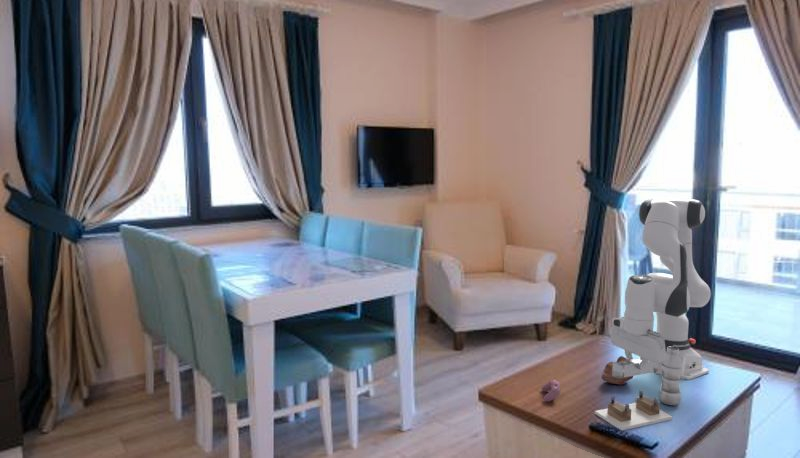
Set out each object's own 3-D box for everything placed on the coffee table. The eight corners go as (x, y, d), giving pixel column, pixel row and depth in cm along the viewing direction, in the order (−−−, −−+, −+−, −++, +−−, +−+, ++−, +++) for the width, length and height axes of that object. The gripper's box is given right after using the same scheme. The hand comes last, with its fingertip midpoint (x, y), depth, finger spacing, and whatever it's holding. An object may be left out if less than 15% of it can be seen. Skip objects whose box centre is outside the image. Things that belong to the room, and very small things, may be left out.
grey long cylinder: (651, 367, 177) (652, 356, 177) (660, 371, 174) (661, 359, 174) (609, 374, 171) (610, 362, 171) (617, 378, 168) (618, 366, 167)
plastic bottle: (679, 409, 179) (683, 352, 177) (657, 404, 183) (661, 349, 180) (681, 402, 185) (685, 347, 182) (659, 397, 188) (663, 343, 186)
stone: (621, 376, 207) (622, 352, 206) (640, 384, 200) (641, 359, 198) (599, 383, 201) (600, 358, 199) (618, 391, 193) (620, 365, 192)
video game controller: (553, 407, 184) (564, 391, 183) (542, 400, 185) (552, 384, 184) (551, 395, 194) (561, 379, 193) (540, 389, 194) (549, 373, 193)
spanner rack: (643, 403, 184) (644, 385, 183) (672, 419, 173) (673, 400, 172) (594, 413, 176) (595, 395, 176) (621, 430, 165) (622, 410, 164)
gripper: (672, 334, 162) (669, 377, 164) (622, 316, 181) (620, 355, 183) (656, 336, 160) (653, 380, 162) (608, 318, 179) (605, 357, 181)
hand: (635, 366), depth 172 cm, fingers closed on grey long cylinder, 3 cm apart
